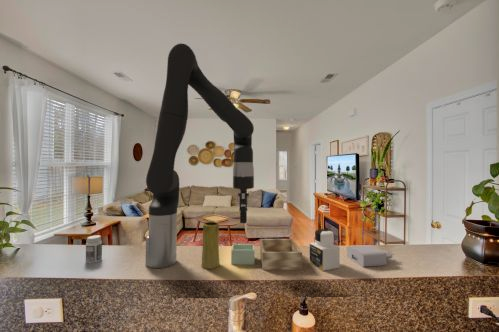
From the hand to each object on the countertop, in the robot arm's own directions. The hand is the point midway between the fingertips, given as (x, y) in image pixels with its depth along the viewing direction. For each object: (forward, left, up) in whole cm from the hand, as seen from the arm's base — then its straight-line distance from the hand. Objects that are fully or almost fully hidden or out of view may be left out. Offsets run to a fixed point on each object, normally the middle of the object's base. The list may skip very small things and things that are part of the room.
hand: (243, 220), depth 81 cm
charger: (+47, 0, -15) cm, 49 cm away
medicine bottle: (+28, -4, -15) cm, 32 cm away
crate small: (0, 0, -15) cm, 15 cm away
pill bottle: (-53, 0, -15) cm, 55 cm away
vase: (-11, -4, -15) cm, 19 cm away
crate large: (+13, 0, -15) cm, 19 cm away
